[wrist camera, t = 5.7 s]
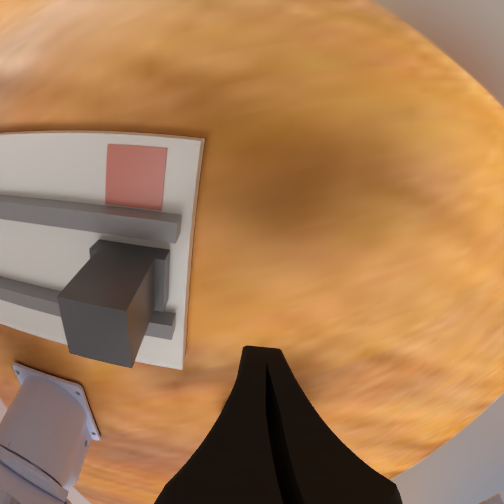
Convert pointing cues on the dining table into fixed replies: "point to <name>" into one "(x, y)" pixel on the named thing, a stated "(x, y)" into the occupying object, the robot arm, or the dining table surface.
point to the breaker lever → (114, 300)
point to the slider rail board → (95, 221)
